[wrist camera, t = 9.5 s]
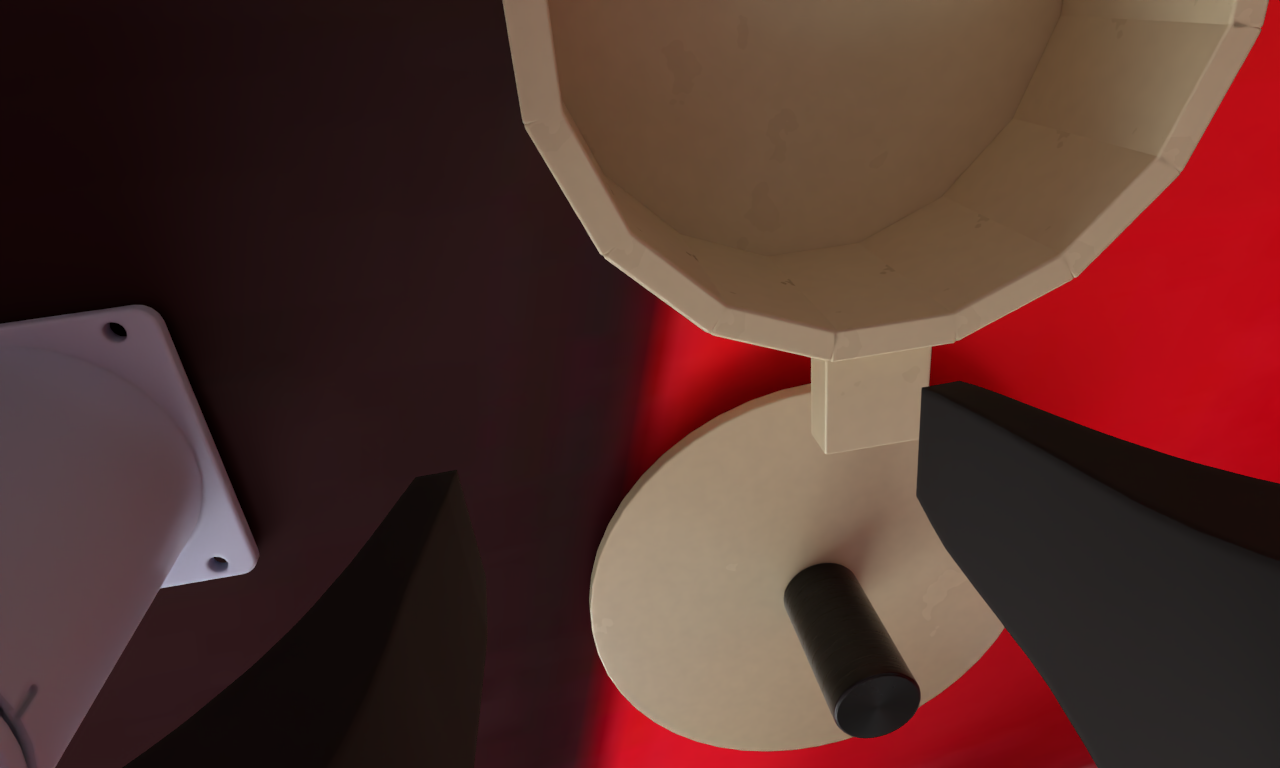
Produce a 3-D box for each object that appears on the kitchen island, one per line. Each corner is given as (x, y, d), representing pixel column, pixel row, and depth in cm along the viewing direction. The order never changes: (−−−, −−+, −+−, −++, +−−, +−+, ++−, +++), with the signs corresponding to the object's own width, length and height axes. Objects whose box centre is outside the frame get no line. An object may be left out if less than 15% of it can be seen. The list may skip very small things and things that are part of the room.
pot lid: (615, 759, 29) (637, 921, 24) (555, 412, 22) (567, 537, 17) (995, 684, 30) (1092, 824, 25) (1046, 333, 23) (1192, 429, 18)
